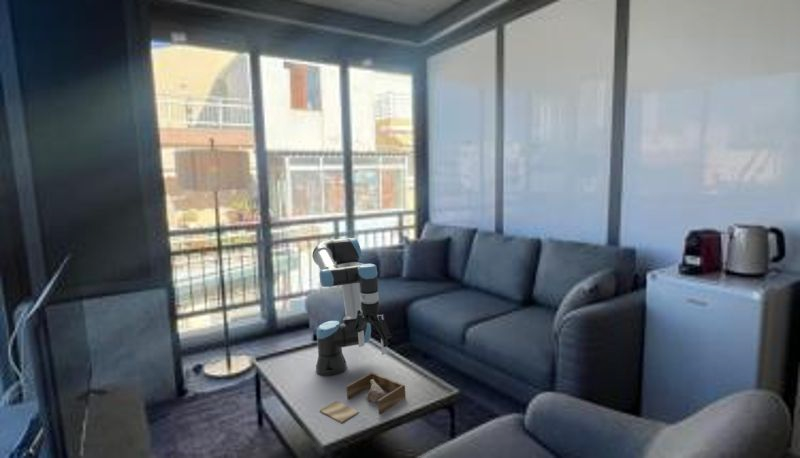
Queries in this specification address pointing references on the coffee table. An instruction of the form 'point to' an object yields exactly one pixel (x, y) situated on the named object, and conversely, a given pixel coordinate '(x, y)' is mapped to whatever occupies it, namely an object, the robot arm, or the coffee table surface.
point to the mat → (339, 411)
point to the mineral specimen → (375, 392)
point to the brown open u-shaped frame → (392, 387)
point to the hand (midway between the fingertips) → (372, 349)
